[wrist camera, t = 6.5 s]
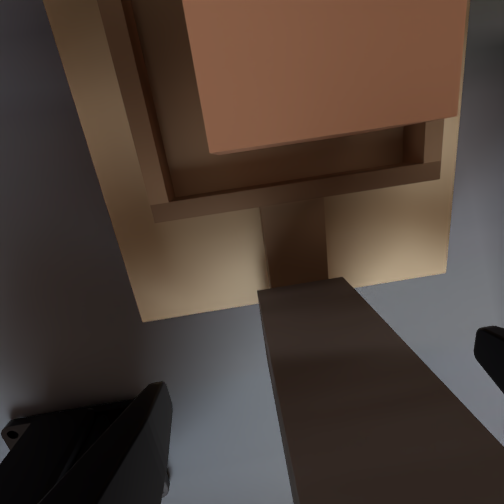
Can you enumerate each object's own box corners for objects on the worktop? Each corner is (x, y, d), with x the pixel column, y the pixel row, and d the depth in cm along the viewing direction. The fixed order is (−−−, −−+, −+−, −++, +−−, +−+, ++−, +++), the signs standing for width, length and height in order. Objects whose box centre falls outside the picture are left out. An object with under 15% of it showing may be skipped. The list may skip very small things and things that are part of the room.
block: (353, 135, 8) (456, 115, 5) (218, 155, 8) (209, 153, 4) (349, -38, 7) (491, -267, 3) (189, -17, 7) (140, -227, 3)
